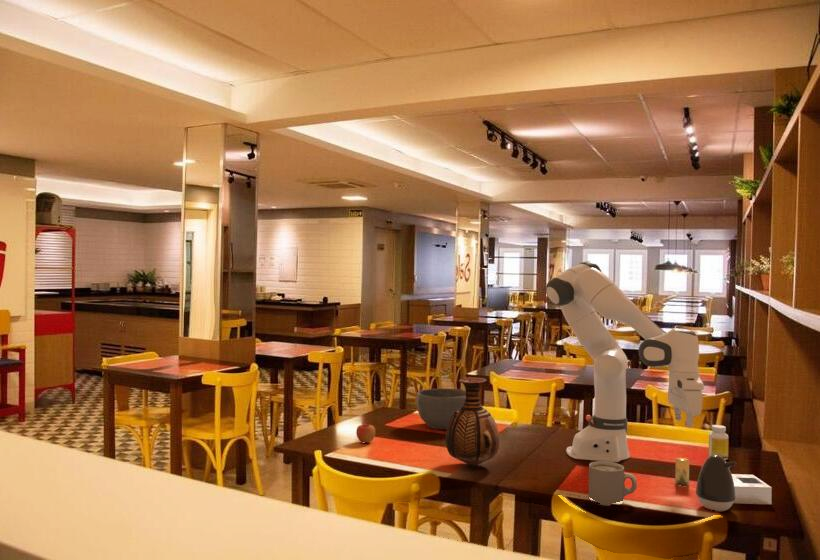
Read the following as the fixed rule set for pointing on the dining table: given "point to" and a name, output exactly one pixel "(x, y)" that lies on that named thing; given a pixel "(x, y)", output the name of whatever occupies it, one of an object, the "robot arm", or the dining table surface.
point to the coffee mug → (609, 482)
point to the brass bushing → (682, 472)
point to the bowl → (439, 405)
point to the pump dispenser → (716, 484)
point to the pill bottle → (718, 442)
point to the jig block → (751, 490)
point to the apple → (365, 433)
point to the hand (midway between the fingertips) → (683, 423)
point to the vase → (472, 428)
